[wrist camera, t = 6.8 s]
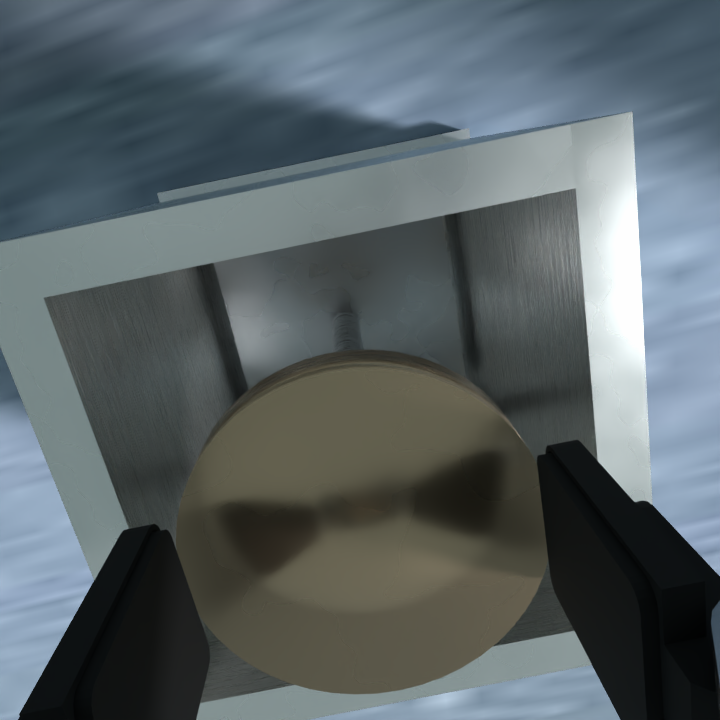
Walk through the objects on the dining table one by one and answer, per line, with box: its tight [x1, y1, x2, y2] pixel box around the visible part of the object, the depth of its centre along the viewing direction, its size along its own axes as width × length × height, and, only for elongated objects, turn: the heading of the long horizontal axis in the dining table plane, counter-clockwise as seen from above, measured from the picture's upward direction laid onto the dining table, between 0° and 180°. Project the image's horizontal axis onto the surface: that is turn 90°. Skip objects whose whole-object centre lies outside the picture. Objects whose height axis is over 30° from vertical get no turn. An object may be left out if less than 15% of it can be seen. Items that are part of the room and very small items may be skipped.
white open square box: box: [0, 112, 652, 720], centre depth 22 cm, size 14×14×18 cm
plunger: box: [176, 216, 548, 694], centre depth 19 cm, size 10×10×17 cm
